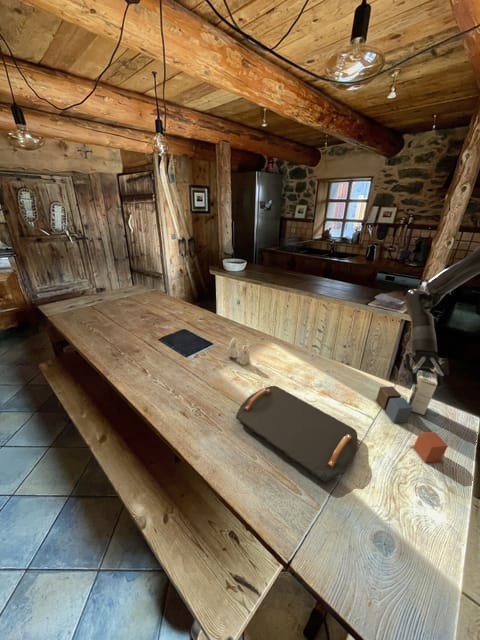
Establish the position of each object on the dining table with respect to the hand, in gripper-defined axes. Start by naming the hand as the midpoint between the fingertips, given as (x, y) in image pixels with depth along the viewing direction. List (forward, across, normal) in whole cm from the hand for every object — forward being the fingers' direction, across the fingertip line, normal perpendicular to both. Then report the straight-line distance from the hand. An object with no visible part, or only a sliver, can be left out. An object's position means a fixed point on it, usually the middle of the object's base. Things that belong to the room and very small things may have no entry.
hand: (427, 385), depth 92 cm
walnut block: (+7, -10, +9) cm, 16 cm away
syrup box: (+7, 0, +9) cm, 12 cm away
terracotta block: (+22, -4, -5) cm, 23 cm away
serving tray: (+21, -44, -4) cm, 49 cm away
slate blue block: (+12, -9, +5) cm, 15 cm away
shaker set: (-5, -71, +21) cm, 74 cm away
